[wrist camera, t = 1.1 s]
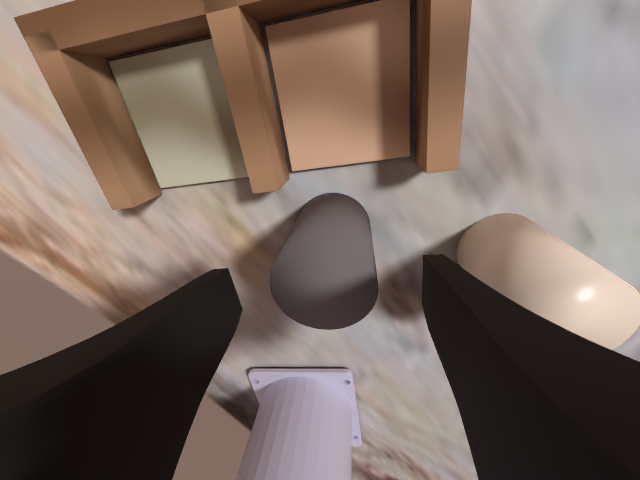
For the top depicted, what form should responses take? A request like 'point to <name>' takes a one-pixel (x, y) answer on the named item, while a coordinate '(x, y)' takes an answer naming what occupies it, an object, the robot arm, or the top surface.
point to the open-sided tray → (250, 87)
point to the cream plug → (550, 278)
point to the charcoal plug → (327, 265)
